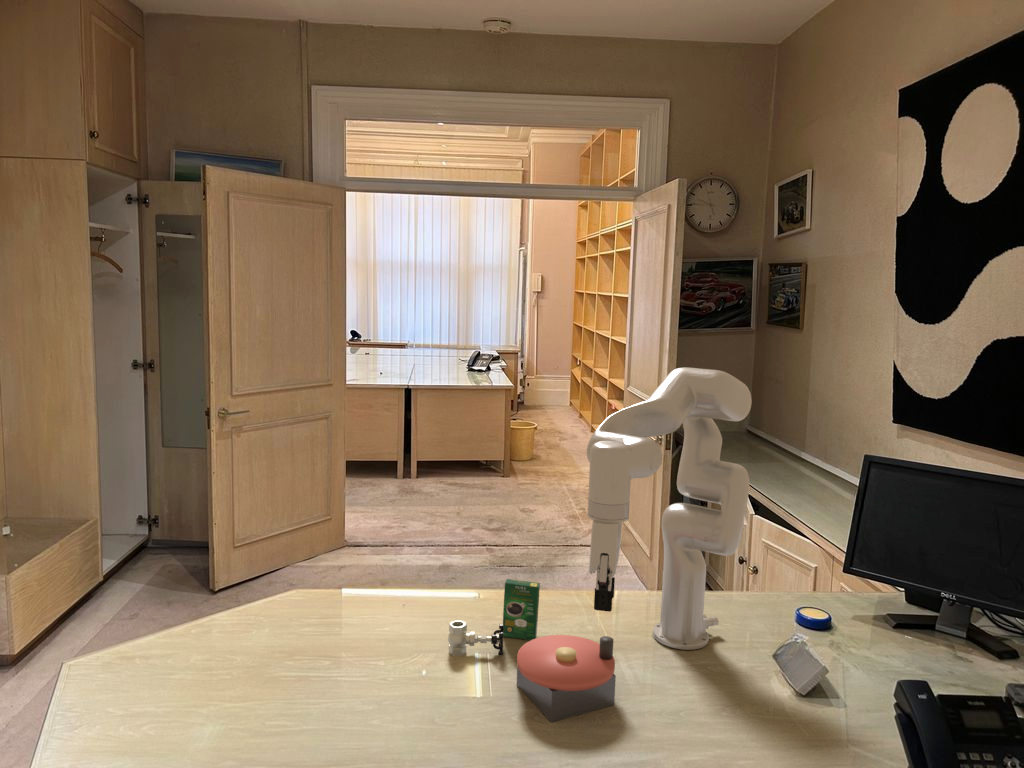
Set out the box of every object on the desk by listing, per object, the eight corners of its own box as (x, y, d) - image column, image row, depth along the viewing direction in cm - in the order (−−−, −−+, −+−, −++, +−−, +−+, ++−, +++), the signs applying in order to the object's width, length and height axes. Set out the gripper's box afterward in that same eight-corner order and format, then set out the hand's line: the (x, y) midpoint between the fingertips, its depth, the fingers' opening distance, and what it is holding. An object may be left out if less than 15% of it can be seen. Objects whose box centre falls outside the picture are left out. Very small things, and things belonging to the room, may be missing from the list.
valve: (446, 660, 157) (502, 661, 157) (447, 630, 156) (503, 632, 156) (449, 645, 163) (502, 646, 164) (449, 617, 163) (503, 618, 163)
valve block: (576, 670, 154) (577, 643, 153) (614, 704, 141) (615, 675, 141) (516, 684, 148) (517, 656, 147) (550, 722, 135) (552, 691, 134)
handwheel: (523, 692, 133) (524, 666, 133) (511, 642, 152) (512, 619, 151) (625, 689, 135) (627, 663, 135) (601, 640, 154) (602, 617, 154)
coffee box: (538, 635, 169) (540, 581, 167) (536, 641, 166) (538, 586, 164) (504, 632, 170) (505, 577, 168) (501, 637, 167) (503, 582, 166)
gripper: (592, 494, 144) (588, 583, 146) (583, 521, 127) (578, 621, 129) (631, 498, 142) (626, 587, 144) (626, 525, 125) (621, 626, 128)
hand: (604, 602), depth 137 cm, fingers open, 5 cm apart
